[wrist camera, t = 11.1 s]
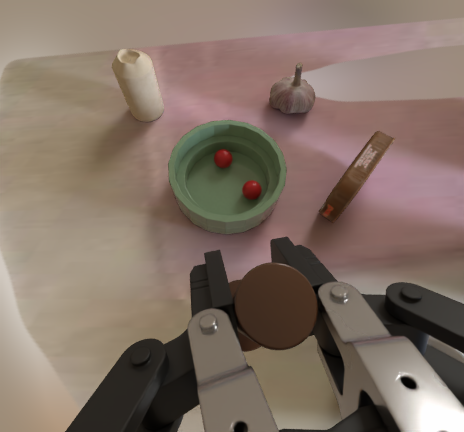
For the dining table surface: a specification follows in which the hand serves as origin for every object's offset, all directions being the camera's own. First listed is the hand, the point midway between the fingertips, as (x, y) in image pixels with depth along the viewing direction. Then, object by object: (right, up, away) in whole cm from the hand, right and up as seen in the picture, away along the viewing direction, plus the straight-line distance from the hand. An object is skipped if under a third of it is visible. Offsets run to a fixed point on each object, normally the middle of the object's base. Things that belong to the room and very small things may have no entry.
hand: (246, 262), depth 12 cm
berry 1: (-2, +11, +27) cm, 30 cm away
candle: (-15, +20, +33) cm, 42 cm away
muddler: (0, -6, +8) cm, 10 cm away
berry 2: (+2, +6, +26) cm, 26 cm away
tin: (+16, +6, +29) cm, 34 cm away
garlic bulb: (+9, +22, +35) cm, 42 cm away
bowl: (-1, +7, +28) cm, 29 cm away
